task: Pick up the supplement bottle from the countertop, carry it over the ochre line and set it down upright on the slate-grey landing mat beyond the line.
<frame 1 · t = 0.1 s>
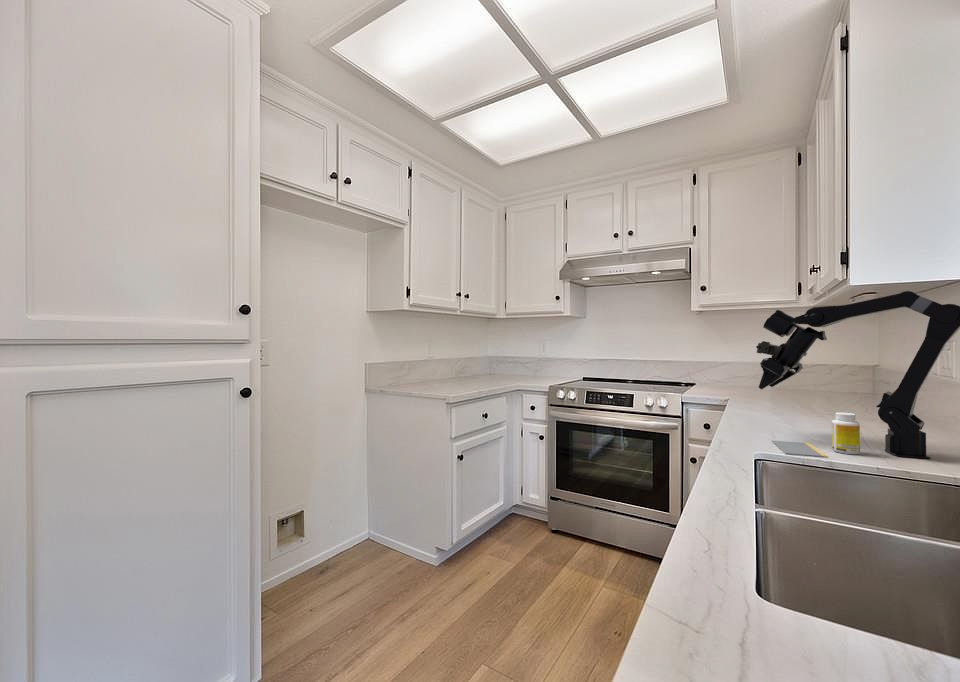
hand: (765, 387, 132), 15 cm above the counter, tool tilted 35°, fingers open, 9 cm apart
supplement bottle: (845, 453, 111), on the counter
landing mat: (795, 448, 115), on the counter
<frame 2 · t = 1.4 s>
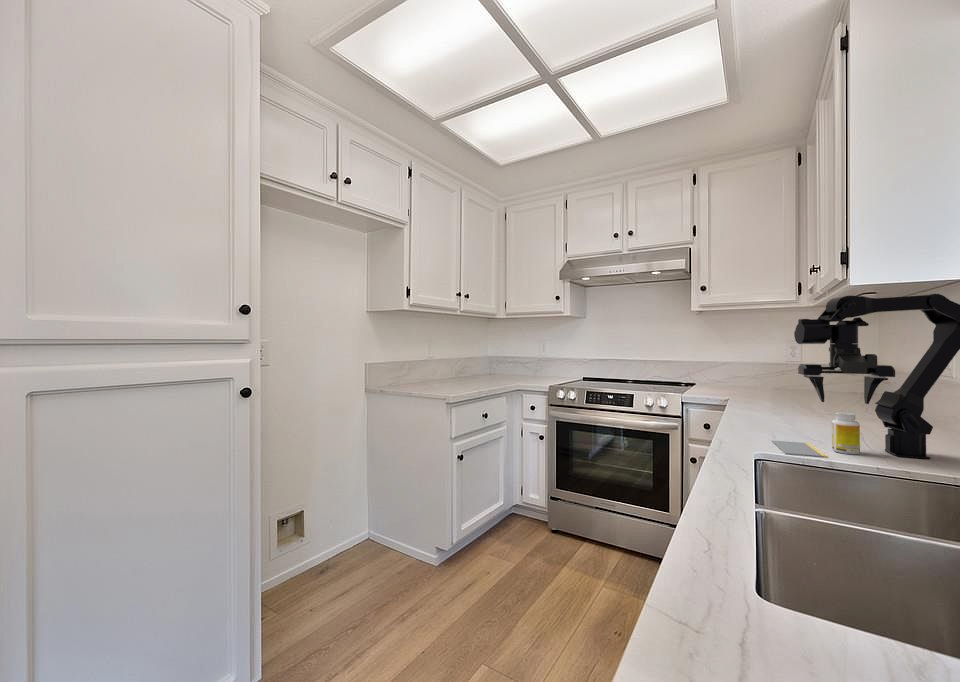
hand: (844, 402, 111), 13 cm above the counter, tool pointing down, fingers open, 9 cm apart
nothing on the counter moved.
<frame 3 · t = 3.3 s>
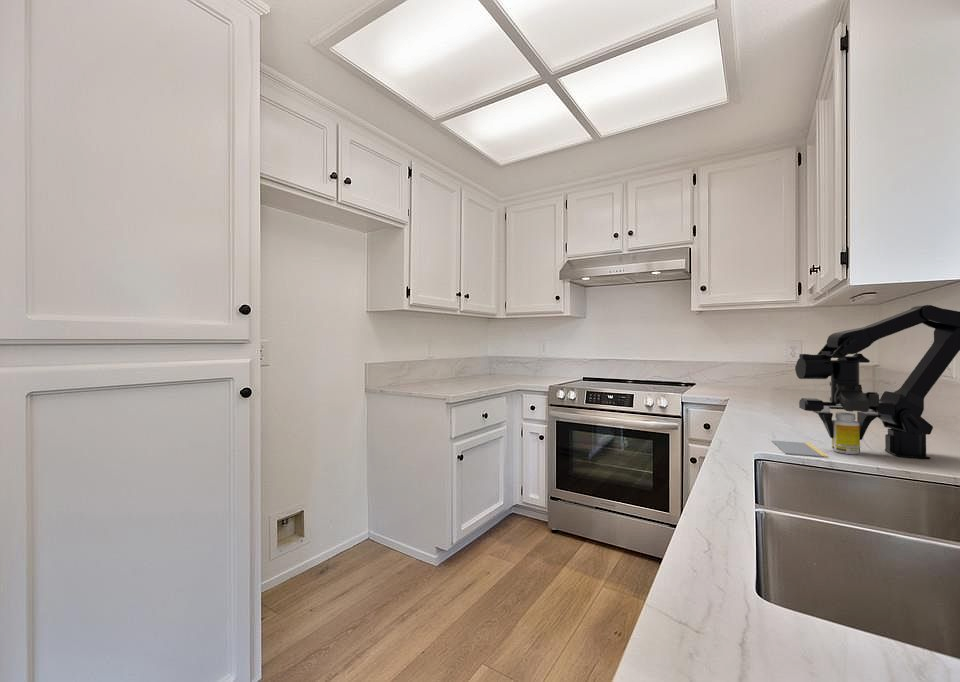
hand: (845, 438, 111), 4 cm above the counter, tool pointing down, fingers closed on supplement bottle, 6 cm apart
supplement bottle: (845, 452, 111), on the counter, touching gripper
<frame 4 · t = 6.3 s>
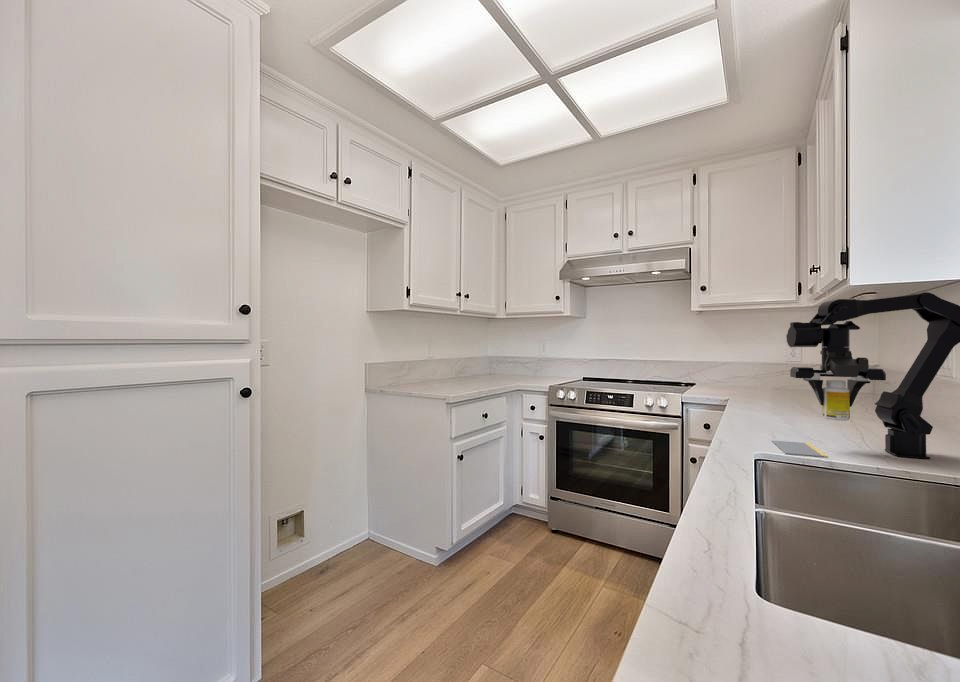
hand: (835, 405, 112), 12 cm above the counter, tool pointing down, fingers closed on supplement bottle, 6 cm apart
supplement bottle: (835, 419, 112), point 8 cm above the counter, touching gripper
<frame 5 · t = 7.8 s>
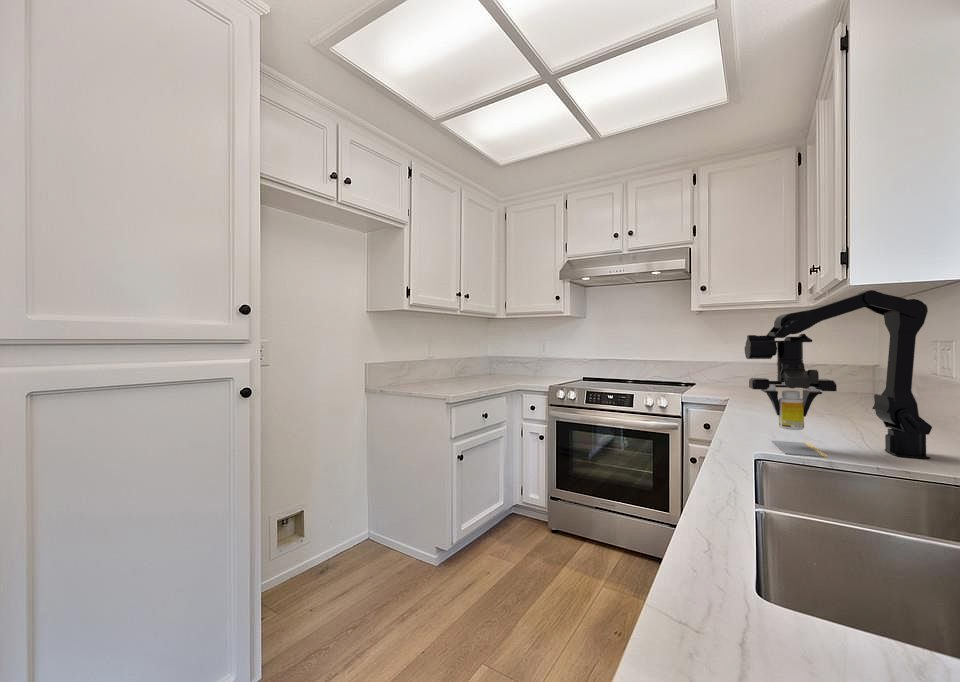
hand: (791, 415, 115), 9 cm above the counter, tool pointing down, fingers closed on supplement bottle, 6 cm apart
supplement bottle: (791, 429, 115), point 5 cm above the counter, touching gripper
when the fingers open (5 cm above the counter, at t = 9.2 s): supplement bottle drops 2 cm, resting on landing mat.
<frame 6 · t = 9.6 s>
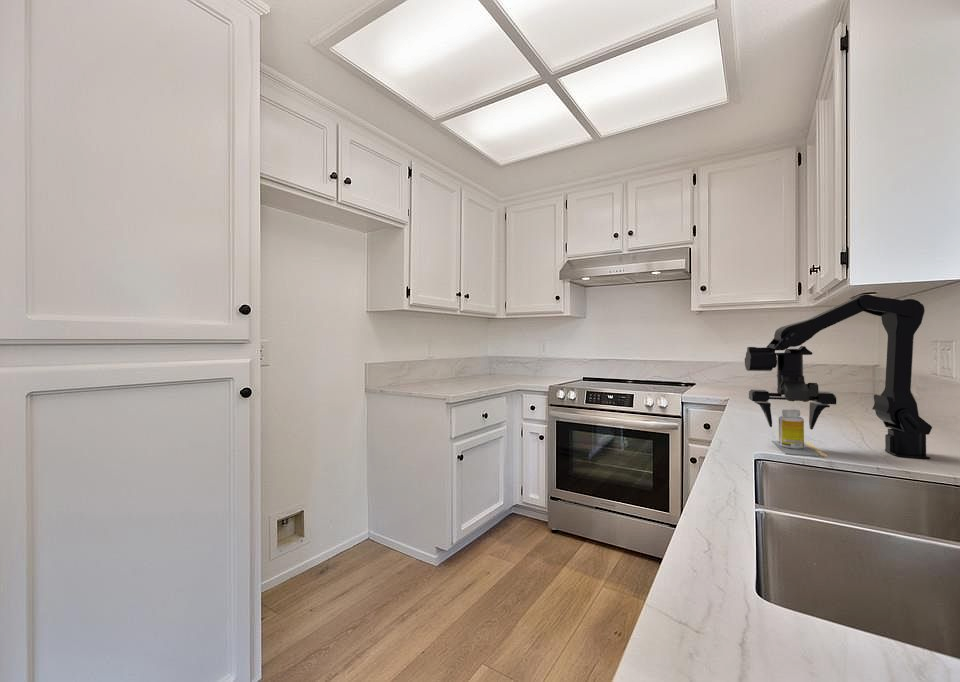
hand: (790, 428, 116), 5 cm above the counter, tool pointing down, fingers open, 9 cm apart
supplement bottle: (791, 447, 115), resting on landing mat
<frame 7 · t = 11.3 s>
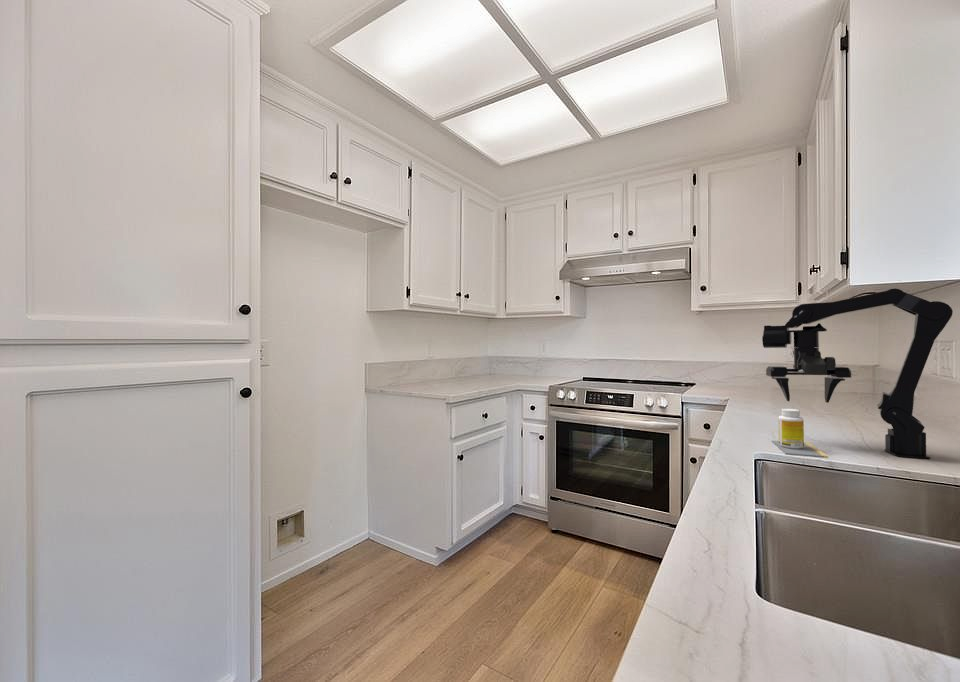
hand: (807, 401, 121), 12 cm above the counter, tool pointing down, fingers open, 9 cm apart
nothing on the counter moved.
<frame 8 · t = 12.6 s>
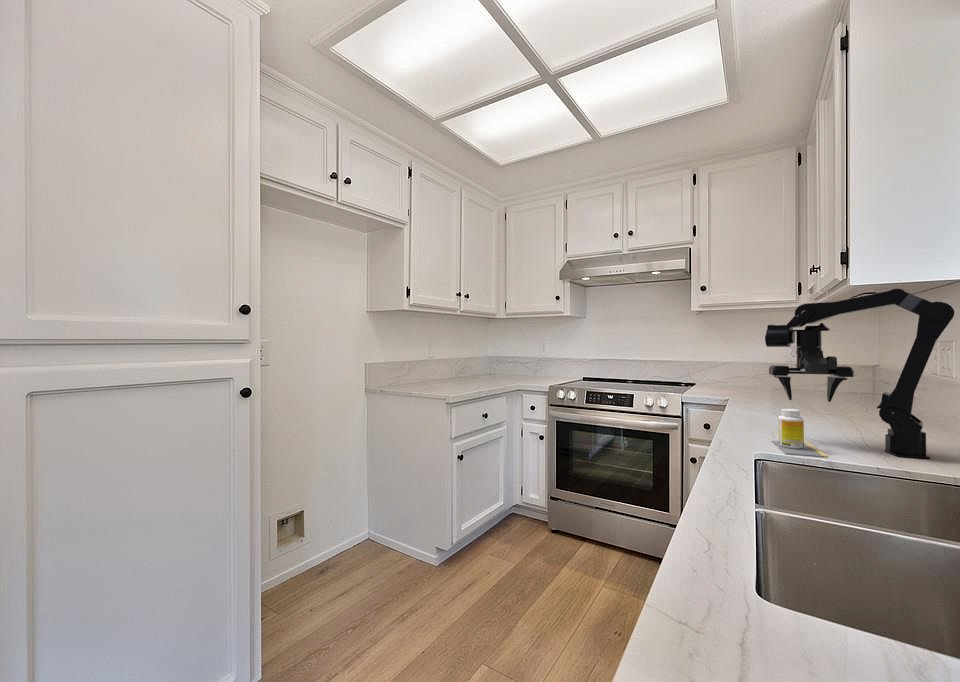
hand: (809, 400, 122), 12 cm above the counter, tool pointing down, fingers open, 9 cm apart
nothing on the counter moved.
at the end: supplement bottle inside the target area (1.7 cm from its centre), resting on landing mat; supplement bottle tilted 0°; the gripper is holding nothing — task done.
